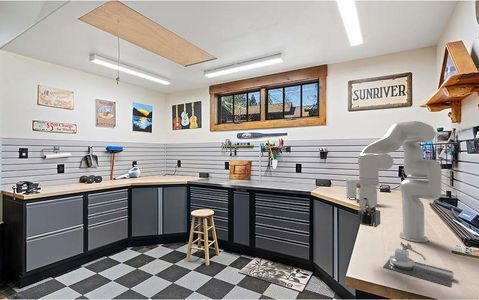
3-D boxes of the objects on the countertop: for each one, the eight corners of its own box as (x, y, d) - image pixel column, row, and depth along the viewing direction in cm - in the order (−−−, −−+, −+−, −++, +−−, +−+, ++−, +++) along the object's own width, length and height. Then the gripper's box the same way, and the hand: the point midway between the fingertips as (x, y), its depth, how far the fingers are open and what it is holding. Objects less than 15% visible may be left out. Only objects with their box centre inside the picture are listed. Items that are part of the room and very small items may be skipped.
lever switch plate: (391, 256, 105) (391, 243, 105) (454, 272, 91) (453, 257, 91) (383, 267, 95) (383, 252, 95) (452, 287, 81) (451, 269, 81)
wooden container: (353, 202, 224) (352, 179, 225) (366, 201, 227) (366, 178, 228) (363, 205, 210) (363, 180, 210) (378, 205, 213) (378, 180, 213)
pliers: (402, 256, 104) (386, 240, 124) (402, 258, 104) (386, 242, 123) (428, 259, 102) (407, 242, 121) (428, 261, 102) (407, 244, 121)
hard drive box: (362, 198, 245) (361, 178, 246) (364, 199, 238) (364, 179, 238) (346, 197, 247) (346, 178, 248) (348, 199, 240) (348, 179, 240)
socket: (363, 220, 110) (363, 207, 111) (380, 223, 106) (380, 210, 106) (358, 224, 105) (358, 210, 106) (376, 227, 101) (375, 213, 101)
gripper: (365, 179, 115) (366, 216, 114) (353, 182, 102) (353, 224, 102) (383, 180, 109) (384, 219, 109) (372, 184, 97) (373, 228, 97)
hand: (369, 221), depth 106 cm, fingers closed on socket, 7 cm apart
